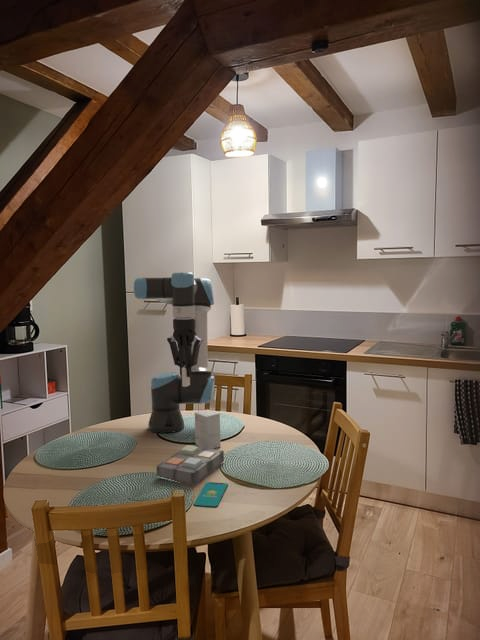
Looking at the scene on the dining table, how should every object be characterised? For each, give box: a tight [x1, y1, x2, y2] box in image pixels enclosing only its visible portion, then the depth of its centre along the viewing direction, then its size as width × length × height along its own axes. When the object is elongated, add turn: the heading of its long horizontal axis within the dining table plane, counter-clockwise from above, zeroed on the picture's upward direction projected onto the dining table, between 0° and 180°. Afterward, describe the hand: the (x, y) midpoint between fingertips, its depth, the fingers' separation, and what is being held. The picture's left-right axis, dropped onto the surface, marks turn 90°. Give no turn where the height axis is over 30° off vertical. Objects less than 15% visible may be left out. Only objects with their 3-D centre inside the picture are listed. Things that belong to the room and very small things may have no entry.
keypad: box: [156, 446, 225, 487], centre depth 161 cm, size 14×20×4 cm
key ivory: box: [198, 451, 215, 459], centre depth 164 cm, size 4×4×3 cm
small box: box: [194, 408, 222, 449], centre depth 183 cm, size 8×6×13 cm
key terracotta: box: [166, 457, 185, 466], centre depth 158 cm, size 4×4×3 cm
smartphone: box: [192, 481, 229, 508], centre depth 144 cm, size 7×1×15 cm
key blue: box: [183, 457, 202, 469], centre depth 156 cm, size 4×4×3 cm
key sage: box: [180, 444, 199, 456], centre depth 167 cm, size 4×4×3 cm
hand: (186, 385), depth 167 cm, fingers closed
